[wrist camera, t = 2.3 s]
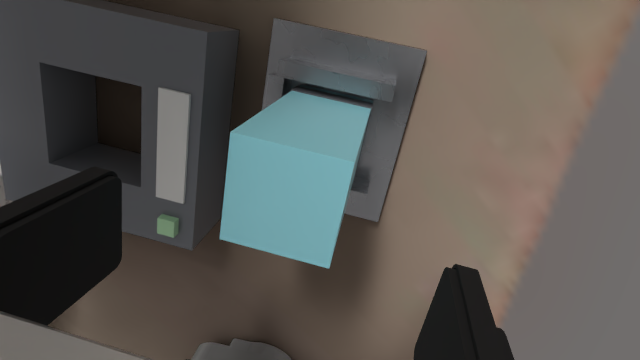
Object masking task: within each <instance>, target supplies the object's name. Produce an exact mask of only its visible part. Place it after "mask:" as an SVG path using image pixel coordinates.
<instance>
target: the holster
mask: <svg viewBox="0 0 640 360" xmlns="http://www.w3.org/2000/svg"><path fill="white" fill-rule="evenodd" d="M426 53H427V50H424V49H419V48H414V47H410V46H405V45H400V44H396V43H391V42H386V41H382V40H377V39H372V38H368V37H363V36H358V35H354V34H349V33H344V32H340V31H335V30H330V29H326V28H321V27H316V26H312V25H307V24H302V23H298V22H293V21H288V20H284V19H279V18H274V21H273V28H272V36H271V43H270V51H269V59H268V66H267V74H266V81H265V89H264V96H263V104H262V110H264V109H265V108H267V107H268V106H270V105H271V104H273V103H274V102H276V101H277V100H279V99H280V98H282V97H283V96H285V95H286V94H288V93H289V92H290V91H291V89H292V88H294V87H295V86H299V85H301V84H302V85H307V86H311V87H316V88H320V89H324V90H329V91H333V92H337V93H342V94H346V95H351V96H355V97H359V98H364V99H368V100H372V101H373V103H374V104H373V108H372V112H371V116H370V120H369V124H368V128H367V132H366V136H365V140H364V144H363V148H362V152H361V156H360V160H359V164H358V168H357V172H356V176H355V180H354V184H352V187H351V191H350V195H349V198H348V202H347V206H346V209H345V213H344V214H348V215H352V216H356V217H360V218H364V219H367V220H371V221H375V222H378V220H379V217H380V213H381V210H382V206H383V203H384V199H385V196H386V192H387V189H388V185H389V182H390V178H391V175H392V171H393V168H394V164H395V161H396V157H397V154H398V150H399V147H400V143H401V140H402V136H403V133H404V129H405V126H406V123H407V119H408V116H409V112H410V109H411V105H412V102H413V98H414V95H415V91H416V88H417V84H418V81H419V77H420V74H421V70H422V67H423V63H424V60H425V56H426Z"/></svg>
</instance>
